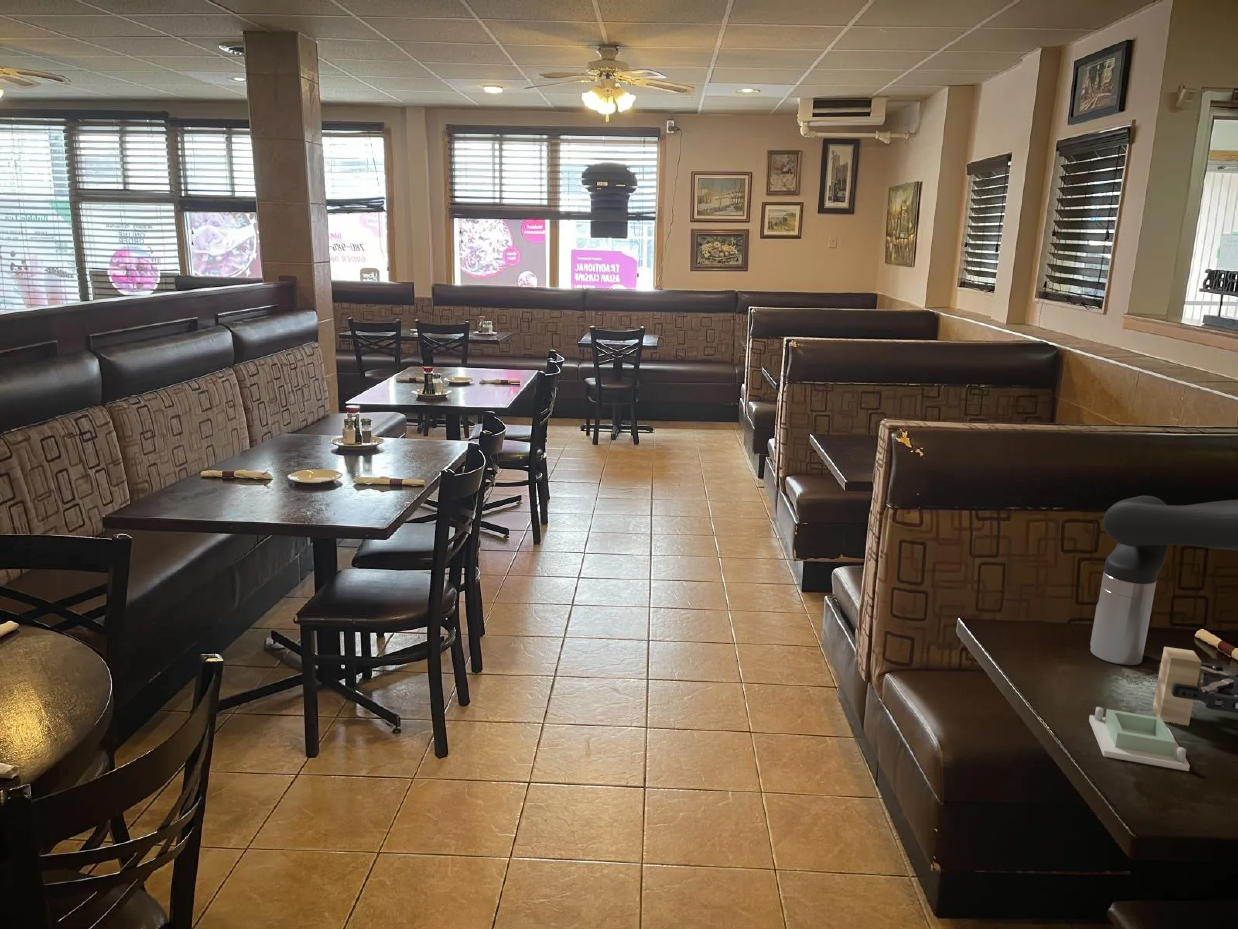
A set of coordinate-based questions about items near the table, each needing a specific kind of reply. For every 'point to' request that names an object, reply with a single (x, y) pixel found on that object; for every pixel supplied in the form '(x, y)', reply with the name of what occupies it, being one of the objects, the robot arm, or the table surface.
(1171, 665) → the maple block
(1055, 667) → the table surface
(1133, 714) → the socket plate
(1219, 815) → the table surface
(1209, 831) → the table surface
